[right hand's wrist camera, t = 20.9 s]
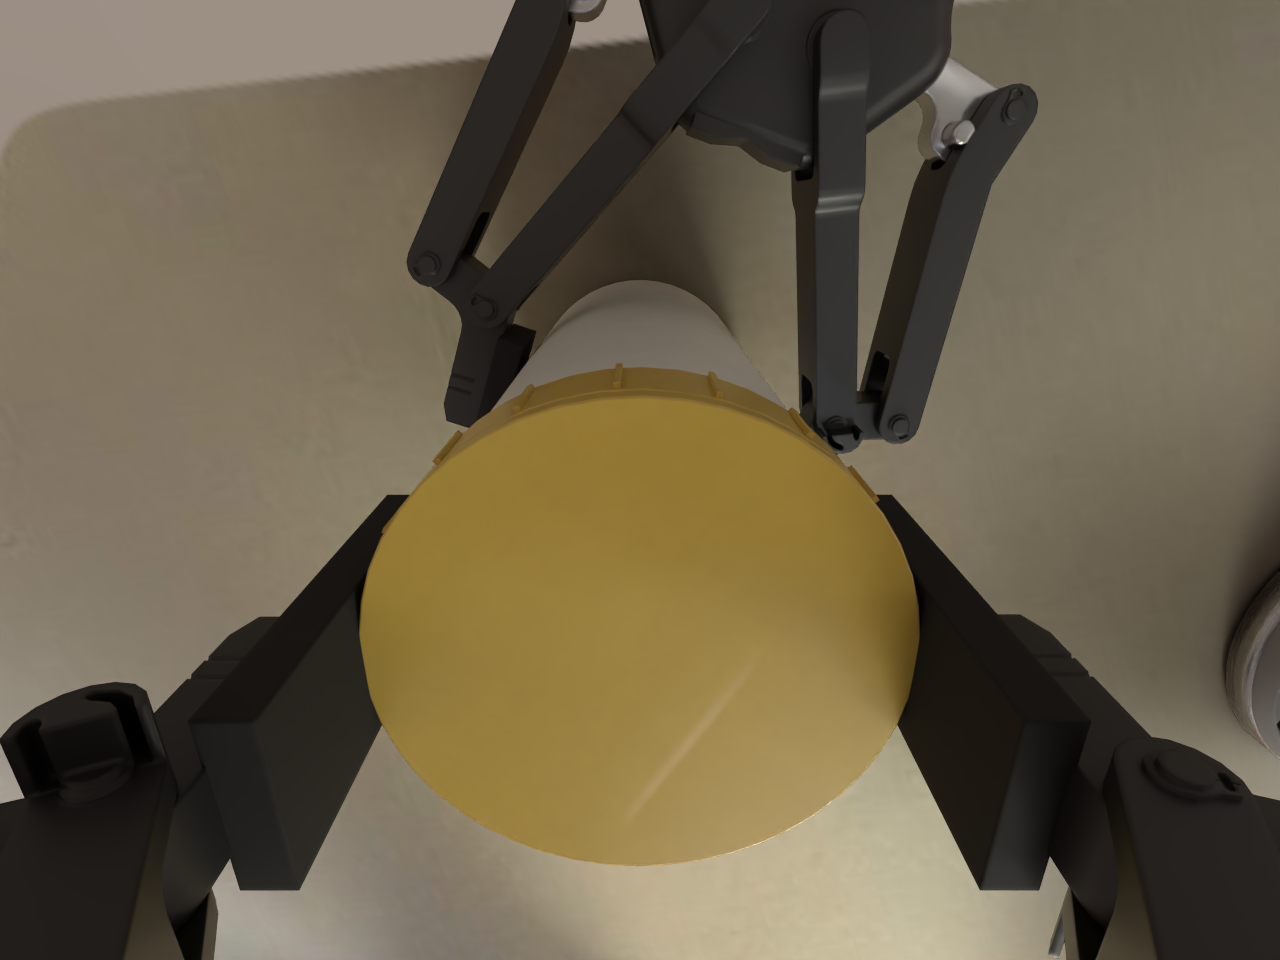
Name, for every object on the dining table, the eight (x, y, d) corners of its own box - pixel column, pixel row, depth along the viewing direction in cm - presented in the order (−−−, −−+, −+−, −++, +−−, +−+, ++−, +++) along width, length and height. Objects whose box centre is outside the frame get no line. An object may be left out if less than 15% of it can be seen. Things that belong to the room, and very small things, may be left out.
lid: (923, 364, 11) (978, 393, 9) (852, 790, 14) (882, 871, 12) (363, 358, 11) (311, 386, 9) (423, 786, 14) (394, 867, 12)
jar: (509, 431, 29) (330, 735, 12) (586, 242, 26) (491, 300, 9) (685, 506, 30) (742, 874, 13) (777, 334, 27) (991, 529, 11)
